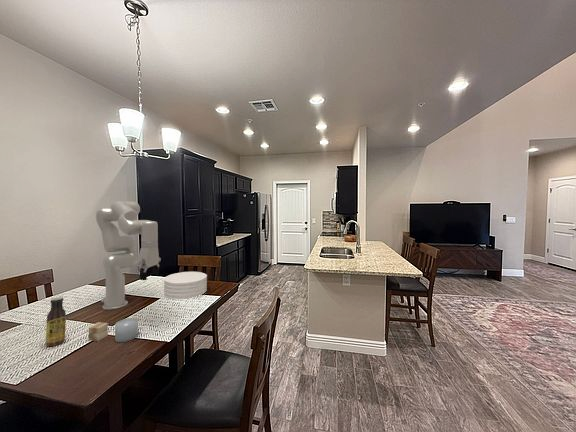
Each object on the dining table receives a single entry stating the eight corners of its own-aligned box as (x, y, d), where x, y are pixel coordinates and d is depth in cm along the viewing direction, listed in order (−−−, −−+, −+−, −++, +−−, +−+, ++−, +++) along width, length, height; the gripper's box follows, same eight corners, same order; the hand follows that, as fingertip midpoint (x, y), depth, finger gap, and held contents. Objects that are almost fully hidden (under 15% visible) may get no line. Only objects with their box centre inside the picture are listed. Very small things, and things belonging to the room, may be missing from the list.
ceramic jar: (110, 341, 111) (109, 326, 110) (125, 331, 120) (125, 317, 119) (127, 343, 110) (127, 327, 109) (142, 332, 118) (142, 318, 118)
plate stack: (202, 284, 193) (202, 270, 192) (210, 295, 169) (210, 279, 169) (162, 289, 178) (162, 274, 178) (165, 303, 154) (165, 285, 154)
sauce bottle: (48, 348, 104) (47, 302, 103) (43, 344, 107) (43, 299, 106) (68, 341, 109) (67, 298, 109) (63, 337, 113) (62, 295, 112)
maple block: (88, 340, 111) (88, 327, 111) (98, 334, 116) (98, 322, 116) (98, 341, 110) (98, 328, 110) (107, 335, 115) (107, 323, 115)
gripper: (153, 242, 136) (153, 272, 137) (130, 247, 119) (130, 281, 120) (166, 242, 136) (166, 273, 136) (145, 247, 118) (145, 282, 119)
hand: (149, 277), depth 128 cm, fingers open, 9 cm apart
